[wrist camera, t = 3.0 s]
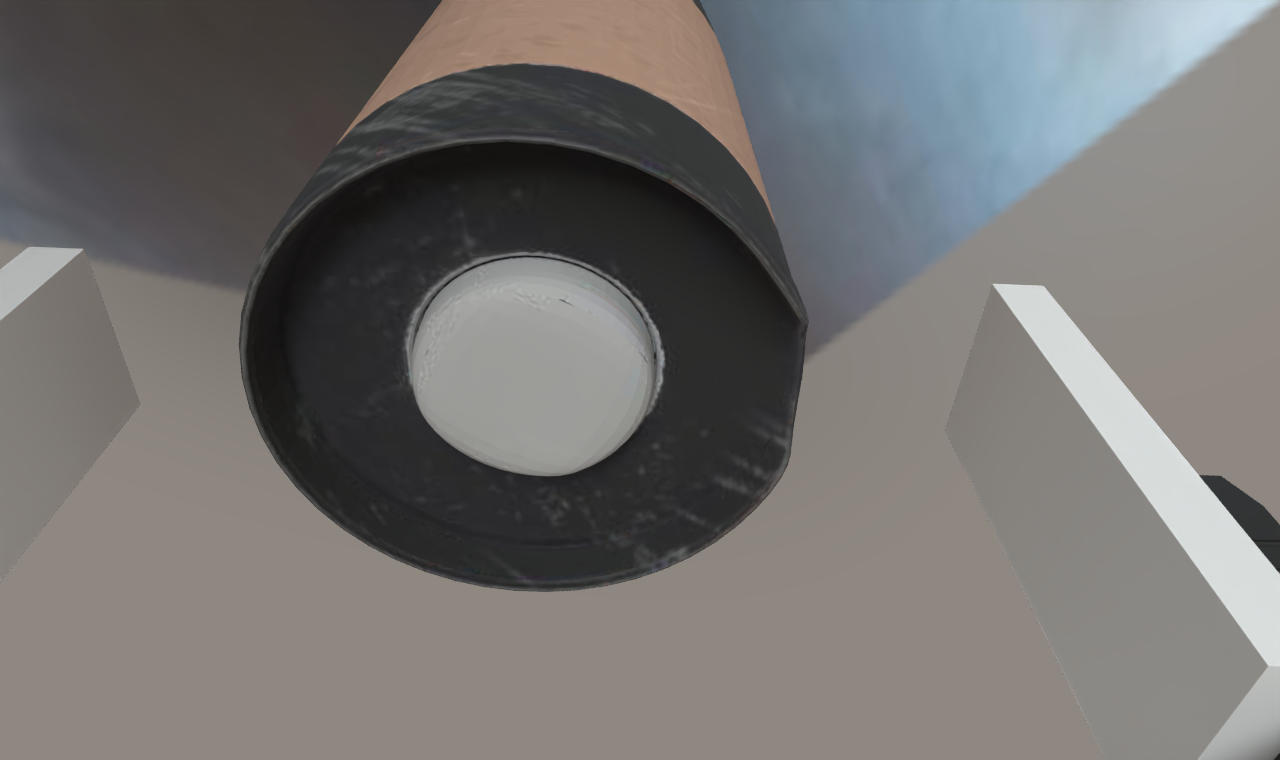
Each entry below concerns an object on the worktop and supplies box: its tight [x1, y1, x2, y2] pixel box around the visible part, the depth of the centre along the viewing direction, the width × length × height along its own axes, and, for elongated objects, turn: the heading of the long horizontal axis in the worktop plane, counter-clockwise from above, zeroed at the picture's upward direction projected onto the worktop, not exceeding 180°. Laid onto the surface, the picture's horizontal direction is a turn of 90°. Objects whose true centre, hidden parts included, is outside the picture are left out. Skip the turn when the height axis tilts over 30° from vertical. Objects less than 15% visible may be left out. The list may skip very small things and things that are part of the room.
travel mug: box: [239, 0, 809, 592], centre depth 19 cm, size 8×8×20 cm
